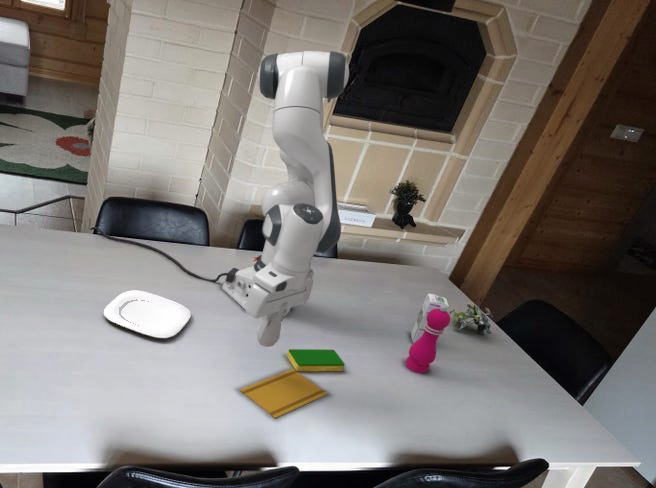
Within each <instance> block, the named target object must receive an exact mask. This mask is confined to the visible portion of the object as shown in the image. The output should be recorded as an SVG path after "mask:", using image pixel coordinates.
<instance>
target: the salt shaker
mask: <svg viewBox="0 0 656 488" xmlns="http://www.w3.org/2000/svg"><path fill="white" fill-rule="evenodd" d="M287 305H288V302H284V303H283V304H282V305H281V307H280V310H281V311H278V312H275V313H272V314H271V316H269V320H271V323H270V325H269V326H268V327H263V326H262V325H261V323H260V324H259V326H258V328H257V329H256V340H257V343H259V345H260V346H262V347H265V348H269V347H274V346H275V344H276V343H277V342H278V341H279V339H280V337H281V327H282V322H283V321H282V313H283V310H285V309H286V307H287ZM281 321H282V322H281Z"/></svg>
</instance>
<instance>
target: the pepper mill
mask: <svg viewBox="0 0 656 488" xmlns="http://www.w3.org/2000/svg"><path fill="white" fill-rule="evenodd" d="M446 310H447V311H446ZM450 323H451V315H450V312H448V309H447V307H446V306H445V305H442V306H440V309H433V310H431V311H430V312H429V313H428V315H427V323H426V324H425V326H424V329H425V331H424V333H423V335H422V336H421V337H420V338H419V339H418V340H417V341H416V342H415V343H412V344H411V346H410V347H409V349H408V355H409V356H407V358H406V360H405V366H406V367H407V368H408V369H409V370H410V371H412V372H415V373H418V374H425V373H427V372H428V370H429V368H430V364H432V363H433V362H435V360H436V357H437V342H438V339H439V337H440V336H441V335H443V334H444V333H443V332H444V331H445V328H447V327H449V325H450Z"/></svg>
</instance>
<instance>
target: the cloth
mask: <svg viewBox="0 0 656 488" xmlns="http://www.w3.org/2000/svg"><path fill="white" fill-rule="evenodd" d="M239 391H240V392H241V393H242V394H244V395H245V396H246V397H247V398H248V399H250V400H251V401H252V402H253V403H255V404H256V405H258V407H259V408H261V409H262V410H263V411H265V412H266V413H268V414H269V415H270V416H271V417H273V418H274V419H277V418H279V417H281V416H283V415H286V414H288V413H290V412H292V411H294V410H297V409H299V408H301V407H304V406H306V405H308V404H310V403H312V402H314V401H316V400H319V399H321V398H323V397H325V396H327V395H328V392H326V391H325V390H323V389H322V388H321V387H319V386H318V385H317V384H315V383H313V382H312V381H311V380H310V379H308V378H307V377H305V376H304V375H302V374H301V373H299V371H296V370H295V368H291V369H287V370H285V371H283V372H281V373H278V374H275V375H273V376H270V377H268V378H266V379H263V380H260V381H257V382H255V383H253V384H250V385H247V386H245V387H242V388H240V389H239Z"/></svg>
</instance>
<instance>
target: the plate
mask: <svg viewBox="0 0 656 488" xmlns="http://www.w3.org/2000/svg"><path fill="white" fill-rule="evenodd" d="M136 299H137V300H138V301H133V302H130V303H128V304H127V305H126V306H125V307H124V308H123V309H122V311H121V315H122V316H123V317H124V318H125V319H126V320H128V321H129V322H128V321H126V320H124V319H123V318H121V316H120V315H119V307H121V306H122V305H123V304H124V303H125V302H127V301H131V300H136ZM141 300H145V301H141ZM148 301H149V302H148ZM103 316H104V318H106V320H108V321H109V322H111V323H113V324H115V323H116V324H115V325H117V326H119V325H120V326H119V327H122V328H124V327H125V328H124V329H127V330H129V329H130V331H132V332H135V333H138V334H141V335H144V336H147V337H150V338H153V339H163V340H164V339H165V340H166V339H169V338H173V337H175V336H176V335H177V334H178V333H180V332H181V331H182V329H184V327H185V326H186V325H187V324H188V323H189V321H190V320H191V317H192V314H191V310H190V309H188V308H187V307H186V306H184V305H183V304H181V303H179V302H176V301H174V300H171V299H168V298H166V297H163V296H161V295H157V294H154V293H151V292H147V291H144V290H136V289H131V290H127V291H124V292H122V293H120V294H119V295H118V296H116V297H115V298H114V299H113V300H112V301H110V302H109V303H108V304H107V305H106V306H105V308H104V309H103ZM130 322H131V323H130ZM133 323H134V324H133ZM135 324H136V325H135ZM138 325H139V326H138Z"/></svg>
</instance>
